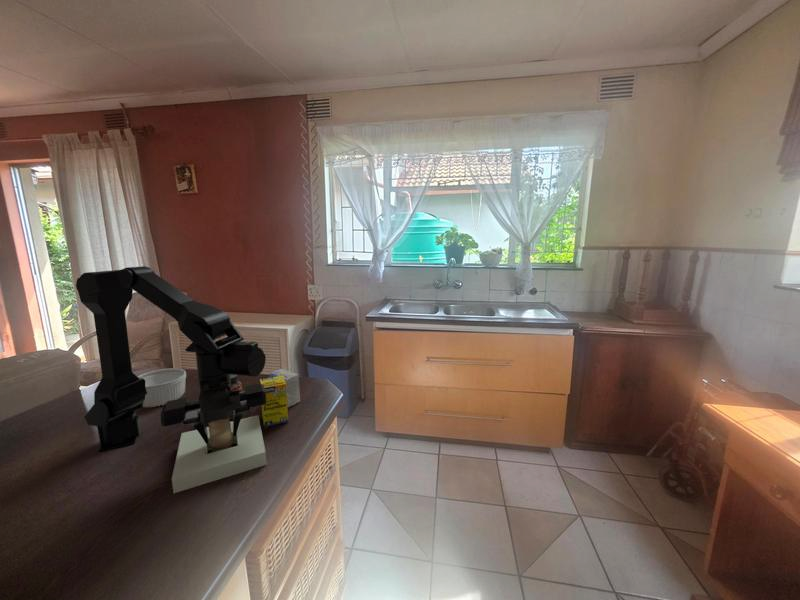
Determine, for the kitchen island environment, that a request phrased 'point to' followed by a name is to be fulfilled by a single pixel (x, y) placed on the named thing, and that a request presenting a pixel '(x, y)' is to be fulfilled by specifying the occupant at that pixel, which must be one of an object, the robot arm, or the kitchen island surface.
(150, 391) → the ramekin
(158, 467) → the kitchen island surface
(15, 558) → the kitchen island surface
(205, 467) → the socket plate
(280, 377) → the supplement box
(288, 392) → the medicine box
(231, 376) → the supplement bottle
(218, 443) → the wooden peg
